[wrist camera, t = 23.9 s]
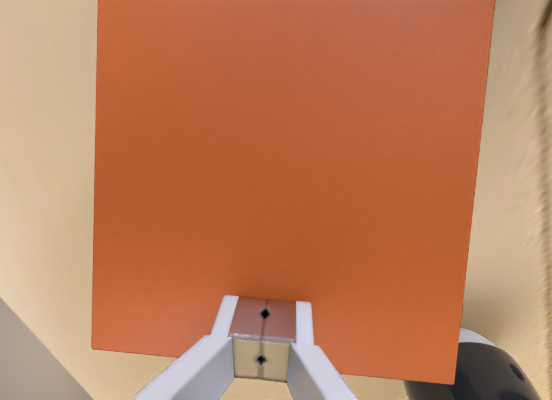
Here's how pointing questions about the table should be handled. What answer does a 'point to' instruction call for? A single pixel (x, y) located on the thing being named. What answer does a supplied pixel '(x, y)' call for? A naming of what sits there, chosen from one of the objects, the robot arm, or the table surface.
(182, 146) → the lid
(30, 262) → the table surface
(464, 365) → the pump dispenser
